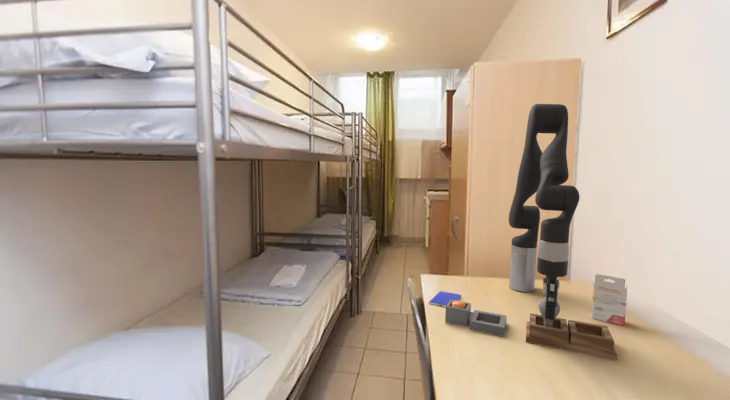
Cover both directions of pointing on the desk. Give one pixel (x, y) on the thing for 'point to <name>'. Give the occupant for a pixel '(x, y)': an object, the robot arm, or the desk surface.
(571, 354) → the desk surface
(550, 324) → the light bulb
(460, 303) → the orange ball
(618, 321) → the ink cartridge box
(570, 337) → the bulb rack
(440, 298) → the blue book
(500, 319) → the bulb socket block
